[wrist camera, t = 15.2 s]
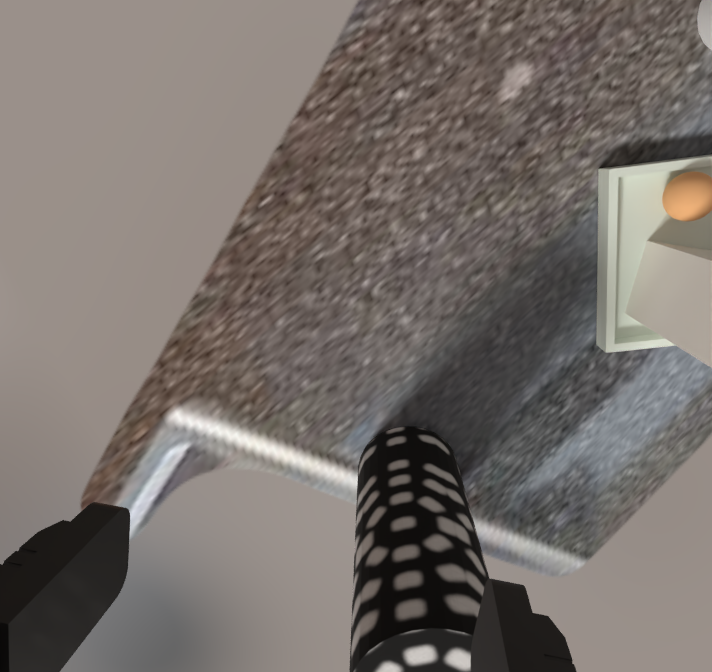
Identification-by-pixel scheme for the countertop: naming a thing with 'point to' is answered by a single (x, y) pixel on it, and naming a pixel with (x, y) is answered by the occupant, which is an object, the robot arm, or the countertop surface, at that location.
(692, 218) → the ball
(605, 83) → the countertop surface
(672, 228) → the tray
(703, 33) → the chalice
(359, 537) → the white-spotted black cylinder
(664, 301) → the cup
